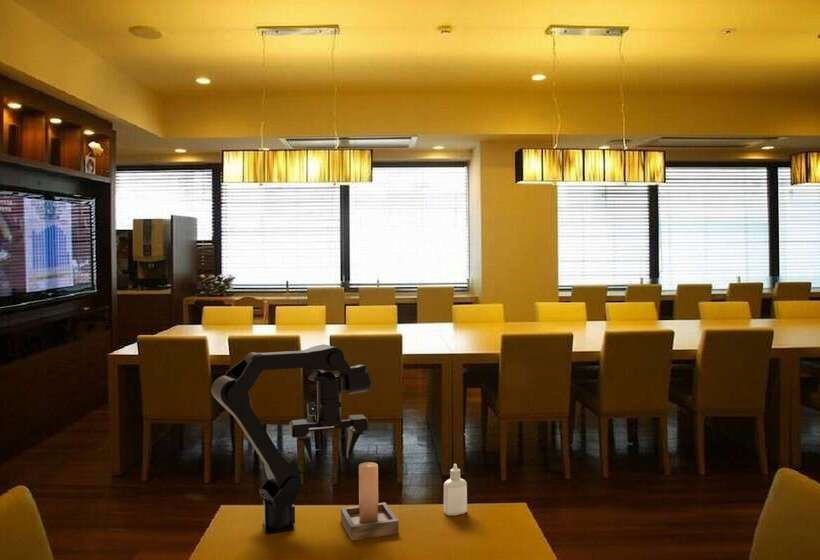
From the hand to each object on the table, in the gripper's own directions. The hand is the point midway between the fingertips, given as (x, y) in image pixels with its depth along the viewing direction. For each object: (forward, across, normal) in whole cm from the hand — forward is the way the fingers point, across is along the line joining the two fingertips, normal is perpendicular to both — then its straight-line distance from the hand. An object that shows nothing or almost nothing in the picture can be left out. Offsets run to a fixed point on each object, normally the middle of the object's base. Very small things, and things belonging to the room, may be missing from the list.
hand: (329, 460), depth 155 cm
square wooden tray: (+13, -7, +11) cm, 18 cm away
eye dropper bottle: (+13, -29, +10) cm, 33 cm away
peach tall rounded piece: (+12, -7, +11) cm, 17 cm away
